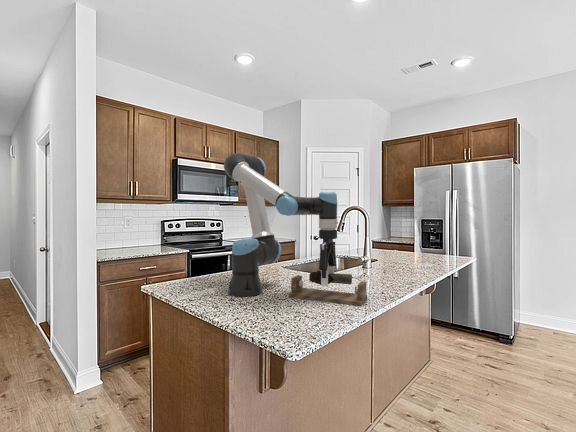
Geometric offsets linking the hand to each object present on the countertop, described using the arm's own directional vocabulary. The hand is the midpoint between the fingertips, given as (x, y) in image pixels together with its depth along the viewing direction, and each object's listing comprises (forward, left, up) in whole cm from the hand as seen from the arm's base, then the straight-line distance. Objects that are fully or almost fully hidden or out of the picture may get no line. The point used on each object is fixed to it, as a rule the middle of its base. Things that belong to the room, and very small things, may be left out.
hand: (327, 283), depth 135 cm
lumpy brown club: (+1, 0, -1) cm, 1 cm away
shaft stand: (0, 0, -6) cm, 6 cm away
